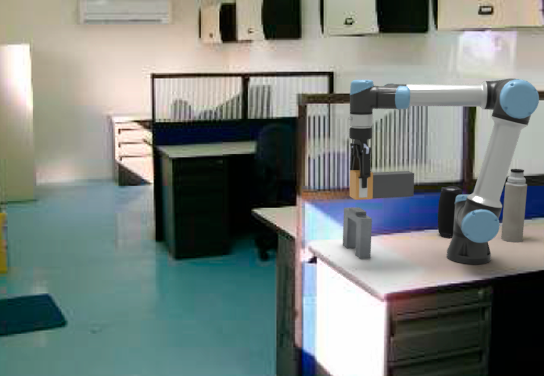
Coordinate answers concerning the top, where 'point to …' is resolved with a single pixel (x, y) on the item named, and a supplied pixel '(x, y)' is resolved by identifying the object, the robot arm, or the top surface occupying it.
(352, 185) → the grey and orange block
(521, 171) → the thermos bottle
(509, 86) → the robot arm
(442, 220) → the portable speaker
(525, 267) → the top surface
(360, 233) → the housing
